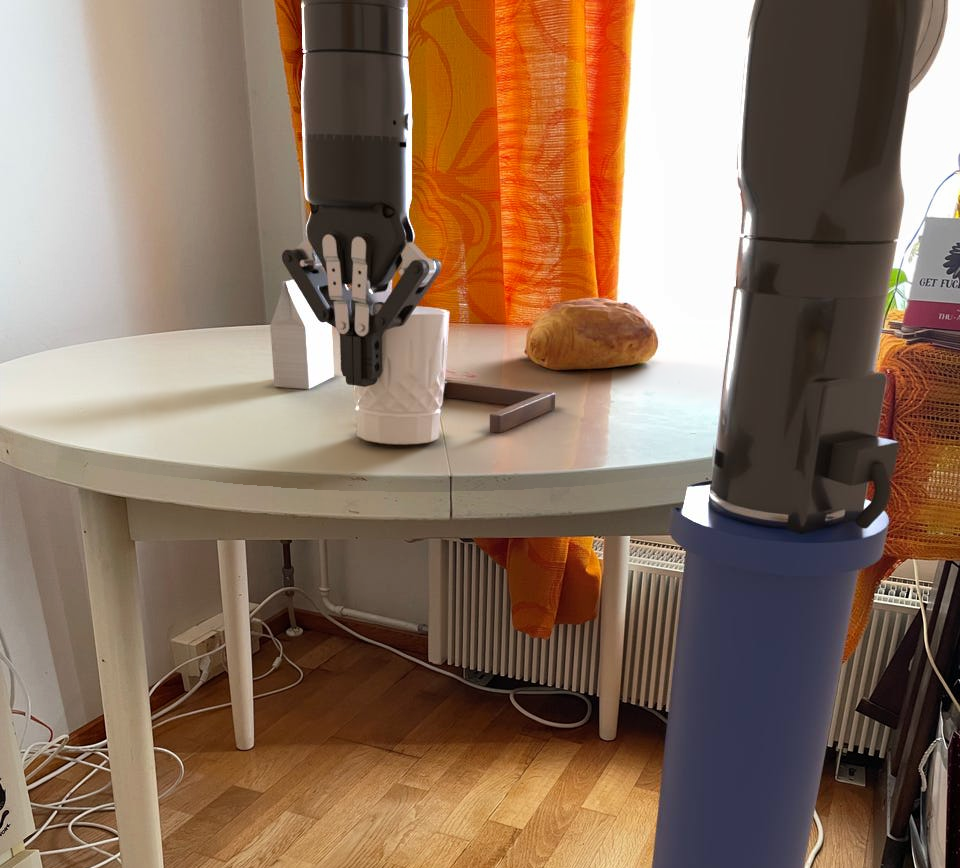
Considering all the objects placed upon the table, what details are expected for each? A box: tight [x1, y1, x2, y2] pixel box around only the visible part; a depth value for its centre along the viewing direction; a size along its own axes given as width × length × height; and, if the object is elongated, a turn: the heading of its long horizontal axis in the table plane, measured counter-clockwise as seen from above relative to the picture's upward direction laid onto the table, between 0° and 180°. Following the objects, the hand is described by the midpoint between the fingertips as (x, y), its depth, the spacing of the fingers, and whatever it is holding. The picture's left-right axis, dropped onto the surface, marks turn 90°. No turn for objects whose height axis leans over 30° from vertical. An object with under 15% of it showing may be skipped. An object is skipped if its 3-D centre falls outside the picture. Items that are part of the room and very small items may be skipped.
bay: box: [443, 378, 556, 434], centre depth 93 cm, size 11×12×2 cm
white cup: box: [352, 305, 451, 446], centre depth 82 cm, size 8×8×10 cm
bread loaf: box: [523, 297, 659, 371], centre depth 116 cm, size 14×16×8 cm
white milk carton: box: [269, 279, 335, 390], centre depth 103 cm, size 4×7×10 cm, turn 166°
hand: (362, 384), depth 78 cm, fingers closed
